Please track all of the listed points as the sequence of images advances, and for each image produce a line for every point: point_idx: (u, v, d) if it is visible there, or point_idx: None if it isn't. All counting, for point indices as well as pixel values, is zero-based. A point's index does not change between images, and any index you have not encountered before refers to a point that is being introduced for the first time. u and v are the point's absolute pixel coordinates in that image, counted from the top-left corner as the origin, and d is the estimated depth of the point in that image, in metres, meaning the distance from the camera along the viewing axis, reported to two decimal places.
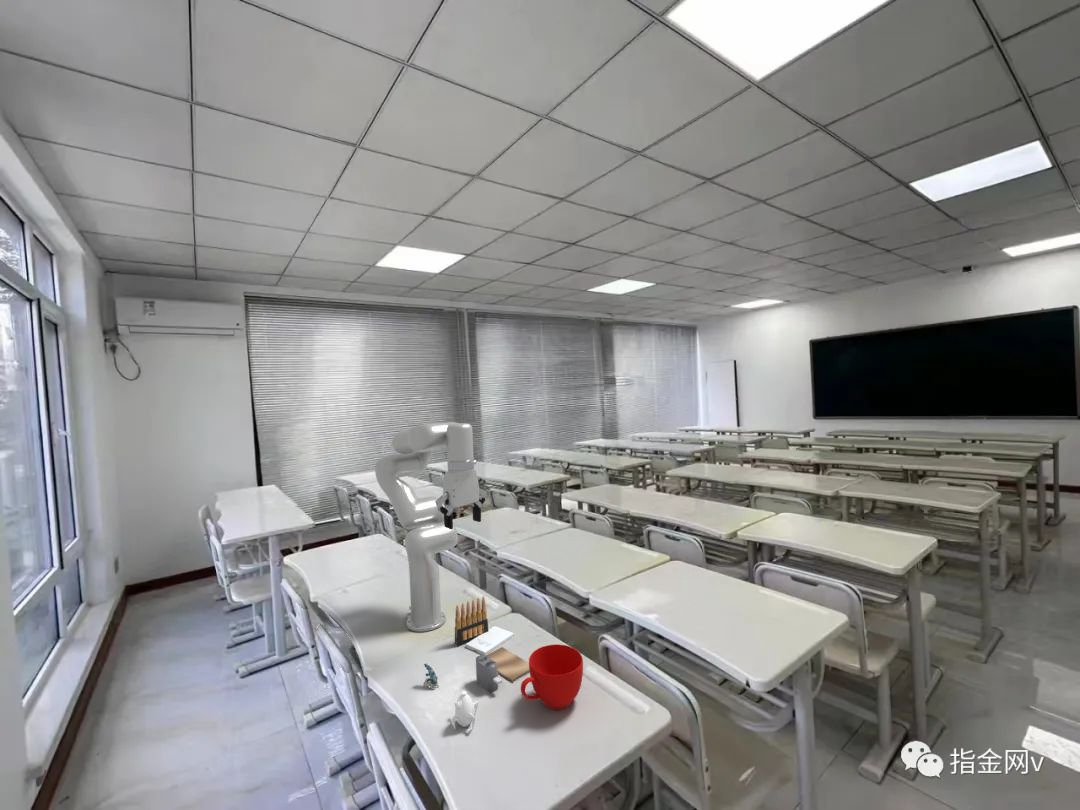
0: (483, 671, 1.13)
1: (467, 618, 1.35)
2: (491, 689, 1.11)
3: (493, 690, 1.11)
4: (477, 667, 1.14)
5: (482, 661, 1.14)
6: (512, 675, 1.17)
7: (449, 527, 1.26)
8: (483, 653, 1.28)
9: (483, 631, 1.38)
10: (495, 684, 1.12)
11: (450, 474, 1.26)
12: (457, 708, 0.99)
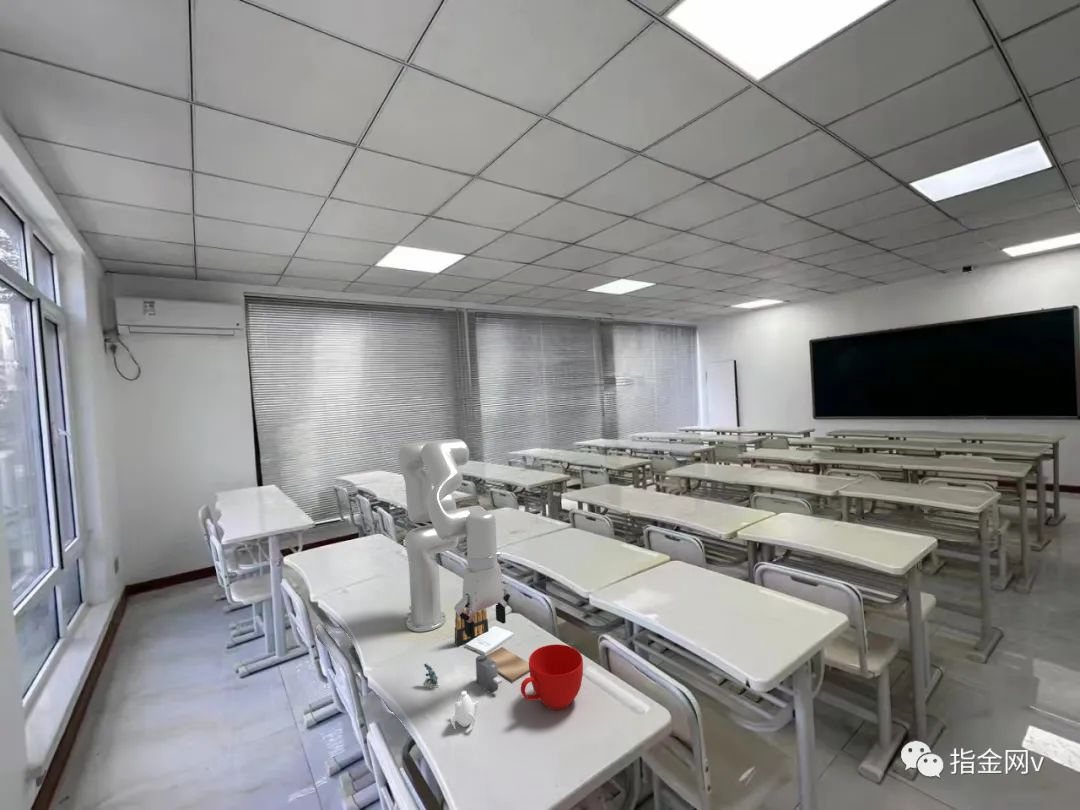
0: (483, 671, 1.13)
1: None
2: (491, 689, 1.11)
3: (493, 690, 1.11)
4: (477, 667, 1.14)
5: (482, 661, 1.14)
6: (512, 675, 1.17)
7: (470, 635, 1.10)
8: (483, 653, 1.28)
9: (483, 631, 1.38)
10: (495, 684, 1.12)
11: (471, 574, 1.10)
12: (457, 708, 0.99)
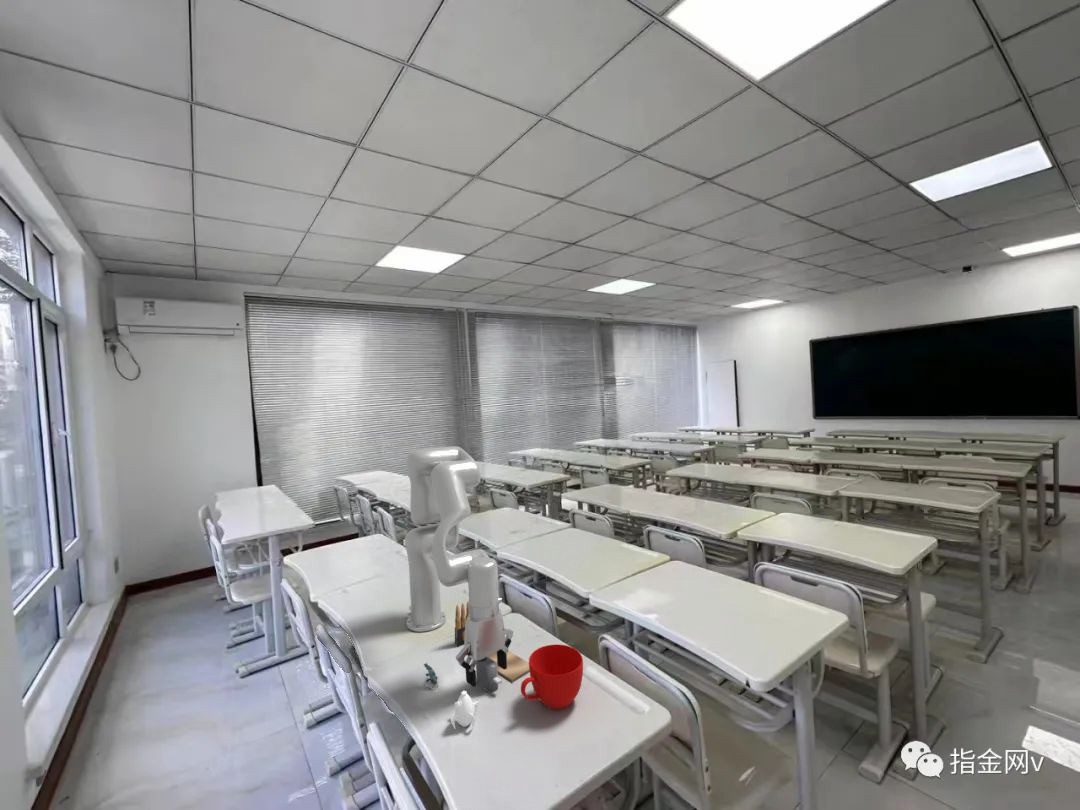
0: (483, 671, 1.13)
1: None
2: (491, 689, 1.11)
3: (493, 690, 1.11)
4: (477, 667, 1.14)
5: (482, 661, 1.14)
6: (512, 675, 1.17)
7: (472, 684, 1.10)
8: None
9: None
10: (495, 684, 1.12)
11: (473, 623, 1.10)
12: (457, 708, 0.99)
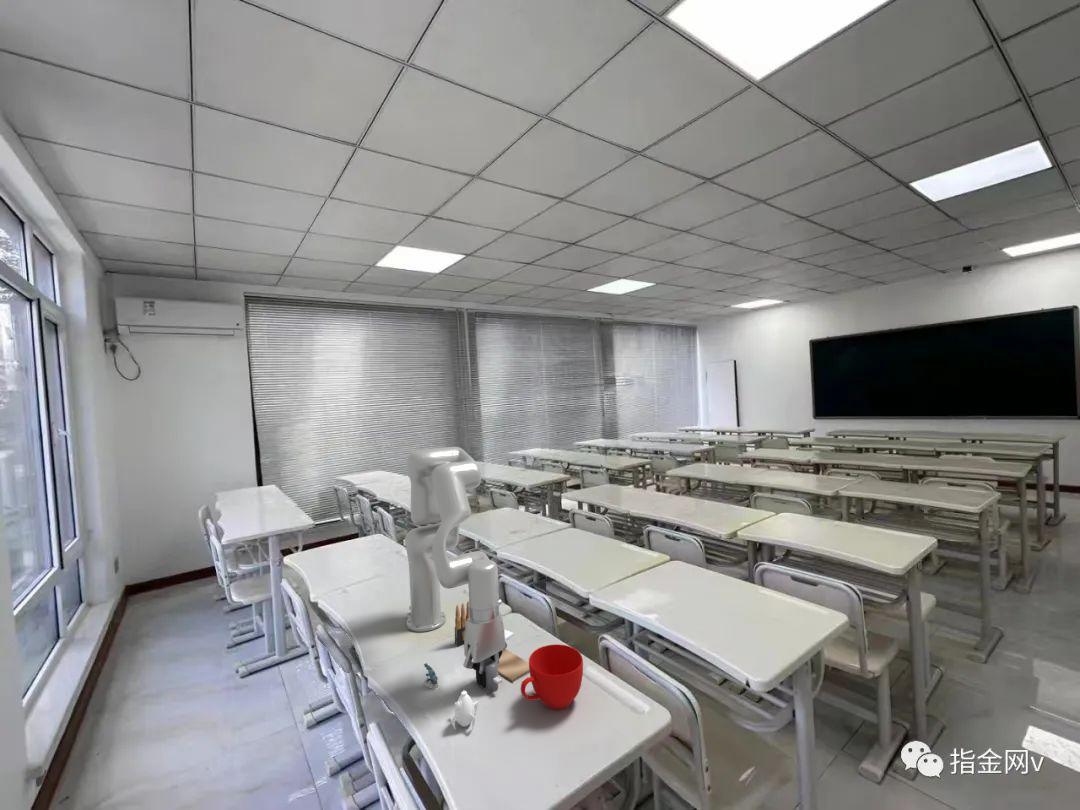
0: None
1: (467, 618, 1.35)
2: (491, 689, 1.11)
3: (493, 690, 1.11)
4: None
5: None
6: (512, 675, 1.17)
7: (482, 685, 1.12)
8: None
9: None
10: (495, 684, 1.12)
11: (473, 625, 1.10)
12: (457, 708, 0.99)
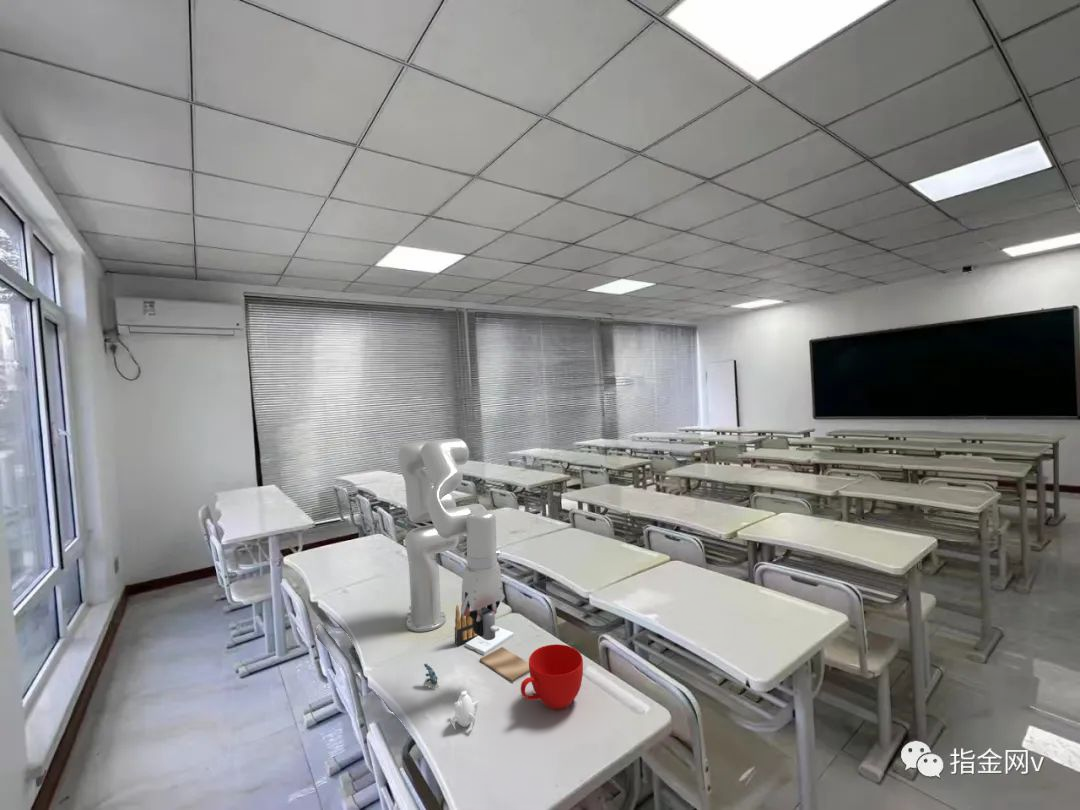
0: None
1: (467, 618, 1.35)
2: (488, 637, 1.11)
3: (490, 638, 1.12)
4: None
5: None
6: (512, 675, 1.17)
7: (479, 633, 1.12)
8: (482, 652, 1.28)
9: None
10: (492, 632, 1.12)
11: (470, 573, 1.10)
12: (457, 708, 0.99)
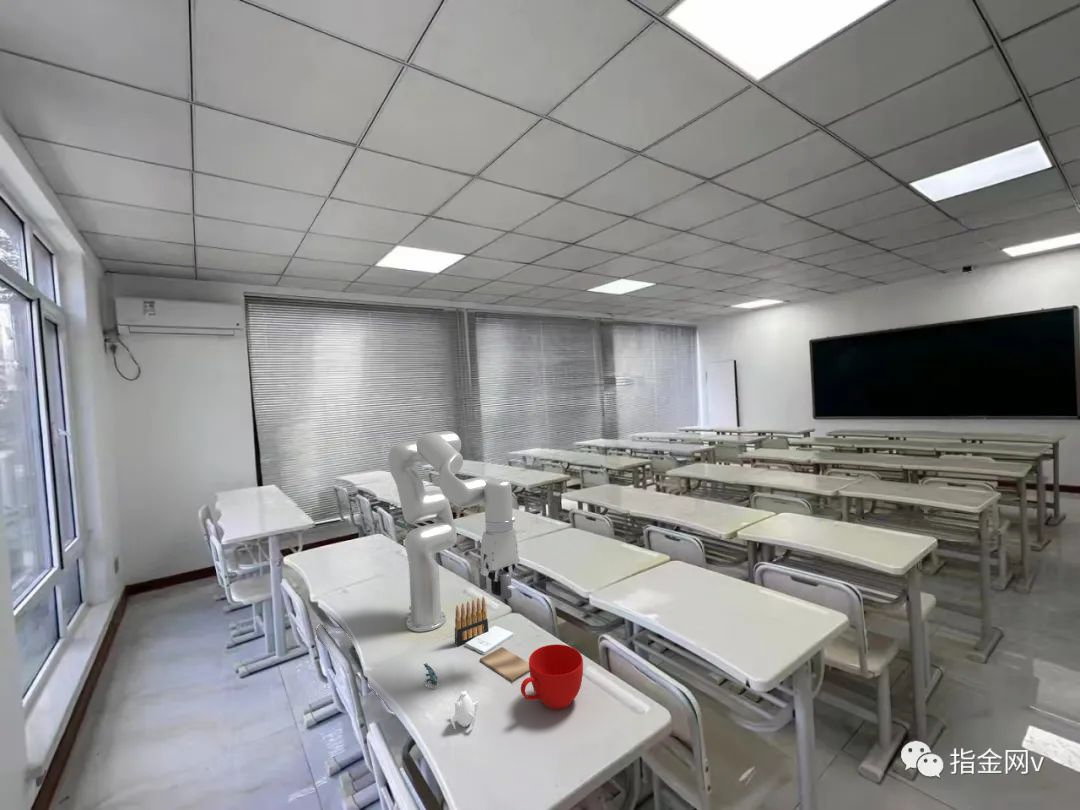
0: None
1: (467, 618, 1.35)
2: (505, 596, 1.20)
3: (507, 597, 1.20)
4: None
5: None
6: (512, 675, 1.17)
7: (497, 593, 1.21)
8: (482, 652, 1.28)
9: (483, 631, 1.38)
10: (509, 592, 1.21)
11: (489, 536, 1.19)
12: (457, 708, 0.99)
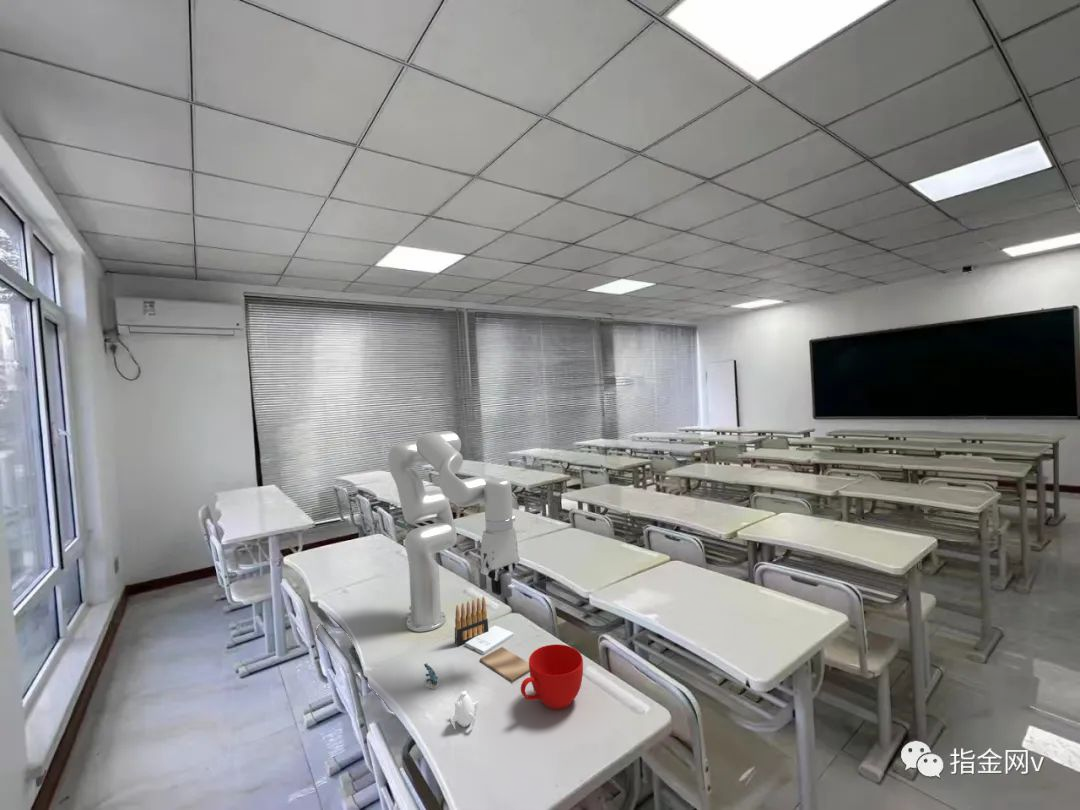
0: None
1: (467, 618, 1.35)
2: (506, 595, 1.20)
3: (508, 596, 1.20)
4: None
5: None
6: (512, 675, 1.17)
7: (497, 592, 1.21)
8: (482, 652, 1.28)
9: (483, 631, 1.38)
10: (509, 591, 1.21)
11: (489, 535, 1.19)
12: (457, 708, 0.99)
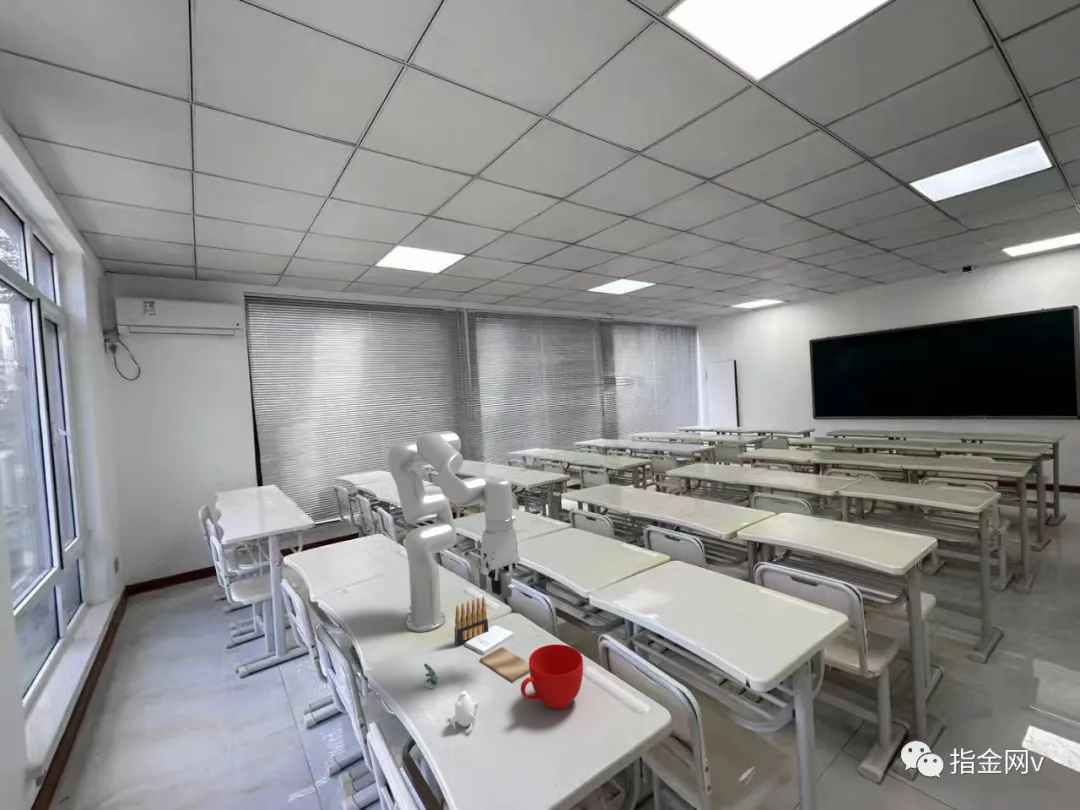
0: None
1: (467, 618, 1.35)
2: (506, 595, 1.20)
3: (508, 596, 1.20)
4: None
5: None
6: (512, 675, 1.17)
7: (497, 592, 1.21)
8: (482, 652, 1.28)
9: (483, 631, 1.38)
10: (509, 591, 1.21)
11: (489, 535, 1.19)
12: (457, 708, 0.99)
